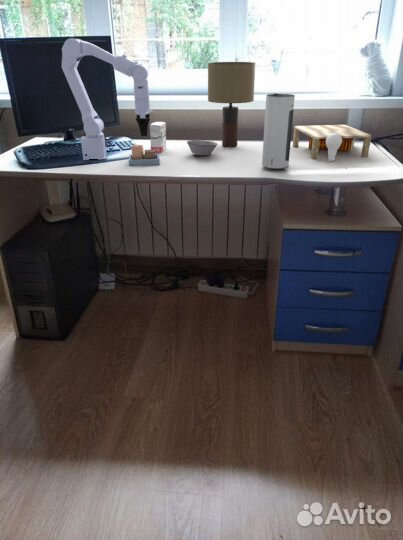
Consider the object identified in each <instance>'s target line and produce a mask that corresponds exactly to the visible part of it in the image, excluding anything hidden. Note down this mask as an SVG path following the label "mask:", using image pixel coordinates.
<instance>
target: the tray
mask: <svg viewBox="0 0 403 540" xmlns="http://www.w3.org/2000/svg"><path fill="white" fill-rule="evenodd" d="M128 156H129V157H128V166H129V167H134V166H135V167H137V166H138V167H139V166H161V164H160V163H161V161H160V153H155V159H145V154H144V159H140V160H132V154H129V155H128Z"/></svg>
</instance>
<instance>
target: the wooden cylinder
mask: <svg viewBox="0 0 403 540" xmlns="http://www.w3.org/2000/svg"><path fill="white" fill-rule="evenodd" d="M130 149H131V155H132V160H140V159H144V155H145V152H144V145H143V144H135V145H134V144H133V145H130Z"/></svg>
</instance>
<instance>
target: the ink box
mask: <svg viewBox="0 0 403 540" xmlns="http://www.w3.org/2000/svg"><path fill="white" fill-rule="evenodd" d="M149 133H150V134H149V135H150V136H149V137H150V150H155V154H162V153H163V152H165V150H167V135H166V133H167V129H166V122H164V121H155V122H152V123H150V125H149Z"/></svg>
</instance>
